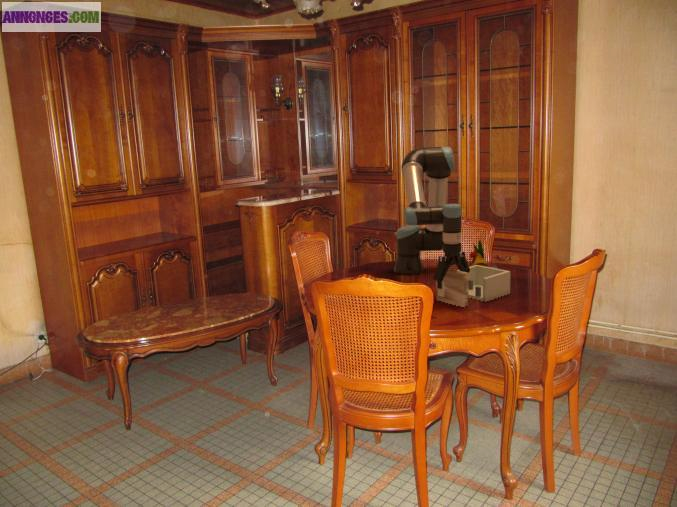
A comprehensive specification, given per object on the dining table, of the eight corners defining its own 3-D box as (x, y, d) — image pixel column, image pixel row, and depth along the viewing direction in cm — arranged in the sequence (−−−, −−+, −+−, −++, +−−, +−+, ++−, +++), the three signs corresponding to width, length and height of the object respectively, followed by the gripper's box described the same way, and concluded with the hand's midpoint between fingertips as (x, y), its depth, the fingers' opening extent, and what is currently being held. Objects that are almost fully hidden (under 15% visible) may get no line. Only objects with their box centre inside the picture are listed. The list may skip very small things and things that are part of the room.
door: (441, 299, 246) (441, 267, 243) (468, 306, 236) (468, 272, 233) (433, 301, 243) (433, 269, 240) (460, 308, 232) (460, 275, 229)
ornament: (468, 275, 301) (458, 248, 303) (483, 270, 301) (473, 243, 303) (476, 272, 281) (465, 243, 282) (492, 267, 281) (482, 238, 282)
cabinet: (476, 286, 264) (476, 264, 261) (509, 293, 250) (510, 271, 248) (451, 293, 253) (451, 271, 251) (485, 302, 239) (485, 278, 237)
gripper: (438, 248, 224) (438, 300, 228) (478, 238, 239) (478, 288, 244) (424, 245, 230) (424, 297, 234) (464, 236, 245) (464, 285, 249)
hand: (452, 292), depth 239 cm, fingers open, 13 cm apart
